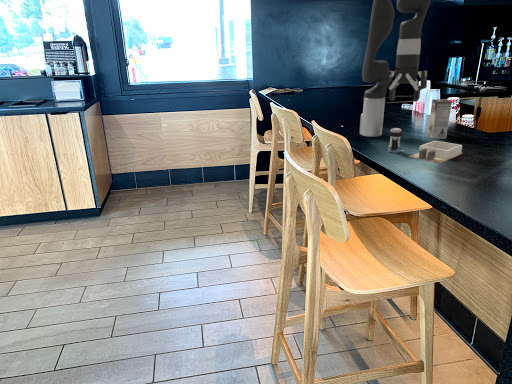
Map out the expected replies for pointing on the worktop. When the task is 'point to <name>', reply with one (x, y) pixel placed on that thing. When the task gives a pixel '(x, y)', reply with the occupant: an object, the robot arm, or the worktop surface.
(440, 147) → the white open box
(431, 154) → the board
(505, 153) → the worktop surface
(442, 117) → the coffee box
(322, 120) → the worktop surface
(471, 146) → the worktop surface
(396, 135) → the push button
